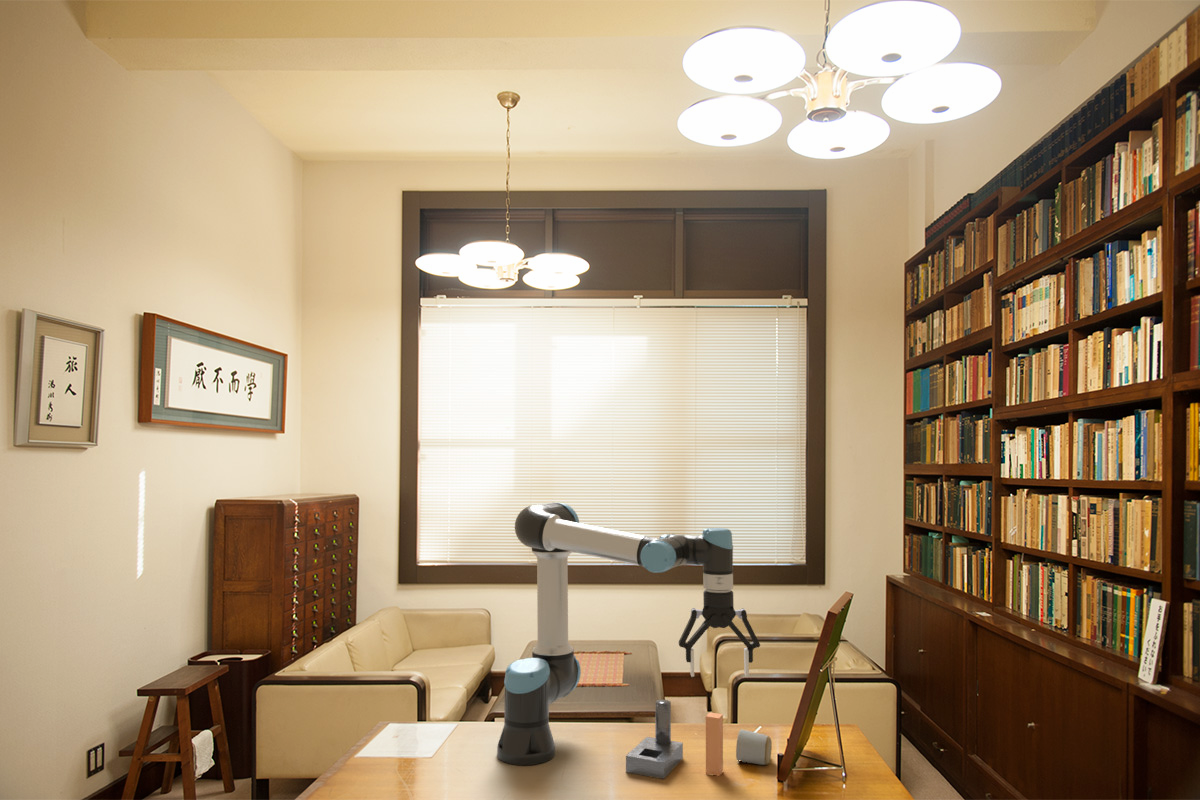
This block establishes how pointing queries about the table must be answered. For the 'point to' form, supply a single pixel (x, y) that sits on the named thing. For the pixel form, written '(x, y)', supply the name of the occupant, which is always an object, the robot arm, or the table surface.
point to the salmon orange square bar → (714, 743)
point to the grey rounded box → (753, 747)
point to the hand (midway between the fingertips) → (719, 675)
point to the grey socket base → (656, 747)
